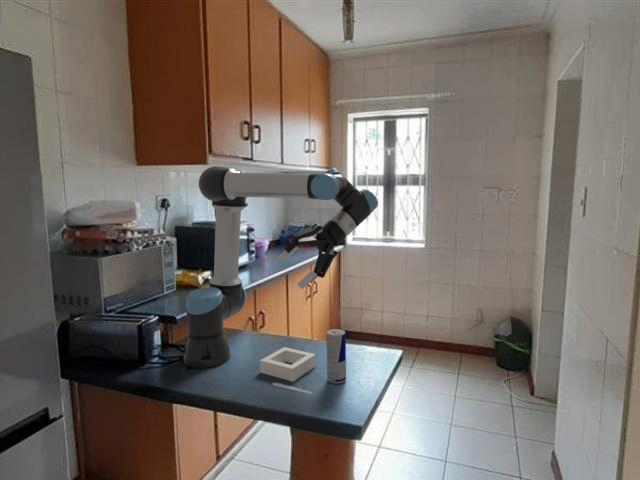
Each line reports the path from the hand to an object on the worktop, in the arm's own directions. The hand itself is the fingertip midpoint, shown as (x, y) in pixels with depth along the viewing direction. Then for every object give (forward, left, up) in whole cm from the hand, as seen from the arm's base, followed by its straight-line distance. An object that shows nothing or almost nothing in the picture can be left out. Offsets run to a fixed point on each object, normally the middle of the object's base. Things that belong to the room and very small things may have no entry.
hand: (289, 274), depth 127 cm
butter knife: (+14, -9, -31) cm, 35 cm away
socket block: (-1, 0, -31) cm, 31 cm away
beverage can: (+16, +1, -31) cm, 35 cm away
